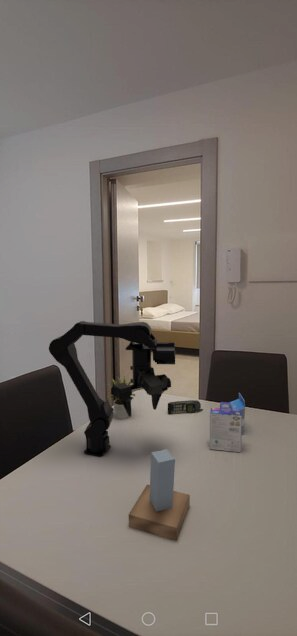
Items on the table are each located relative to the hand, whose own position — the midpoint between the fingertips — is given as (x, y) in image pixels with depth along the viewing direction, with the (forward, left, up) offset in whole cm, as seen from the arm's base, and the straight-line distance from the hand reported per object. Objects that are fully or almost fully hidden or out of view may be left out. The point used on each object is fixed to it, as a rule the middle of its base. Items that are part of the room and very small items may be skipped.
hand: (142, 412), depth 99 cm
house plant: (-16, +22, -13) cm, 30 cm away
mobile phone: (+5, +34, -14) cm, 37 cm away
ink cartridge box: (+24, +12, -13) cm, 30 cm away
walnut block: (+14, -24, -14) cm, 31 cm away
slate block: (+14, -24, -10) cm, 29 cm away
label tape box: (+26, +26, -13) cm, 39 cm away
